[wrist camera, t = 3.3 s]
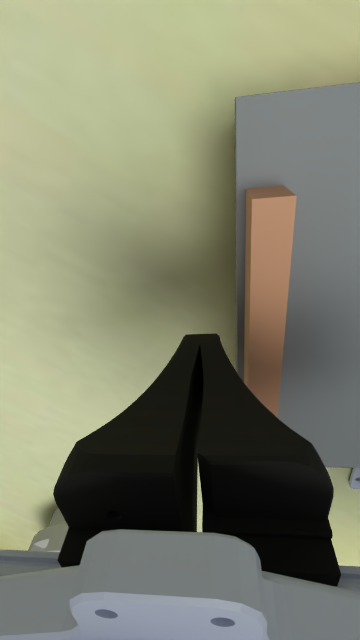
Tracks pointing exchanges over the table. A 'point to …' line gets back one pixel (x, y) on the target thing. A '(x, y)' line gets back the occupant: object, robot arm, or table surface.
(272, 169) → the sliding lid
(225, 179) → the table surface
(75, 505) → the robot arm
